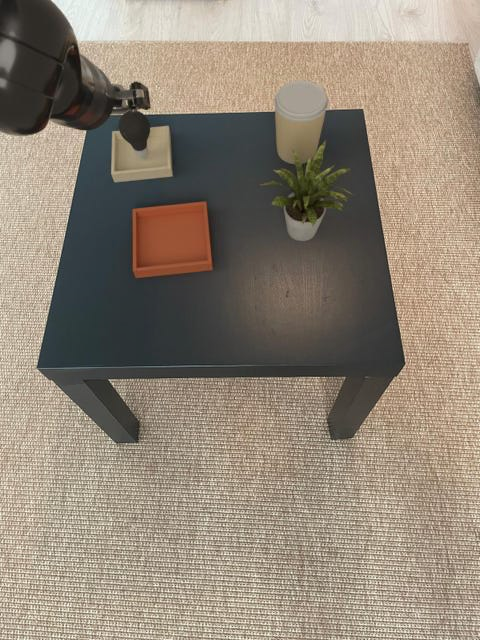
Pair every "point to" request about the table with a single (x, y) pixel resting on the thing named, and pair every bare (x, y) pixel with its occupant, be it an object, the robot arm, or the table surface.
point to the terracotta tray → (171, 240)
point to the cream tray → (149, 167)
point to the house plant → (308, 196)
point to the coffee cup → (299, 119)
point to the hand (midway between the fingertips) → (103, 107)
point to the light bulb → (135, 131)
